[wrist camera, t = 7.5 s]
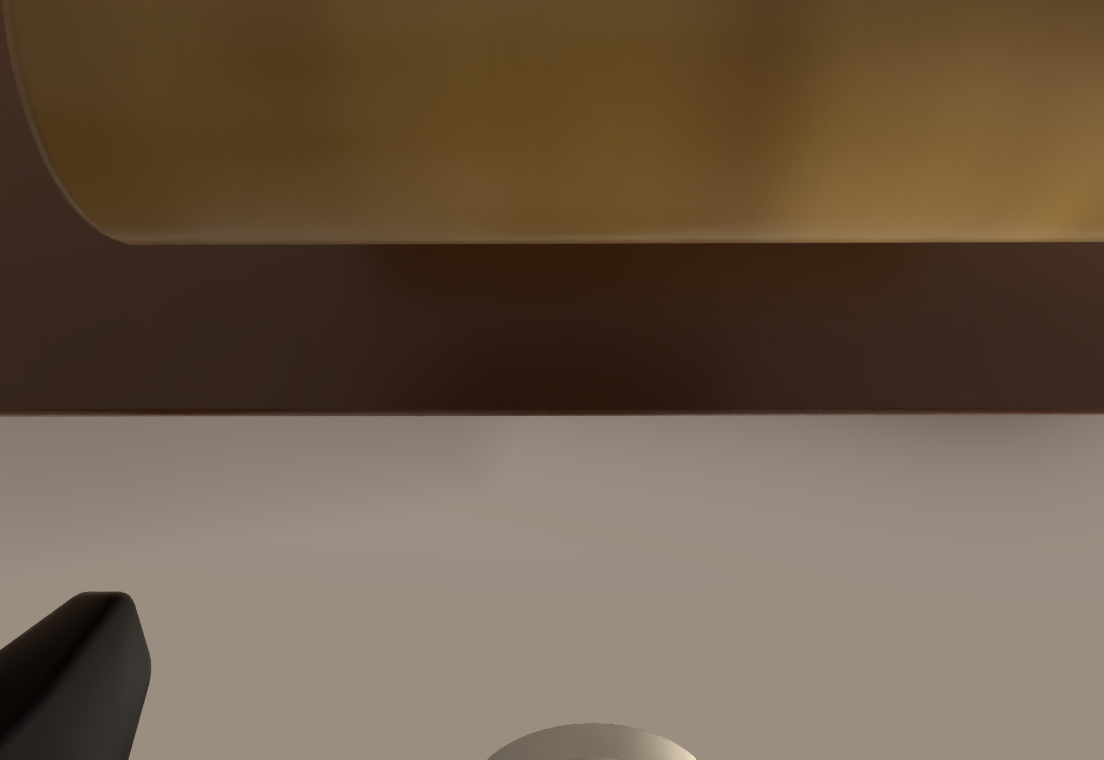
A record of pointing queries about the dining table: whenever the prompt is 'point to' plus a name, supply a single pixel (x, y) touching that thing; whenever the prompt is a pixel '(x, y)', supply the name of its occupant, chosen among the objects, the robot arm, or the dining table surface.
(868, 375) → the lid
